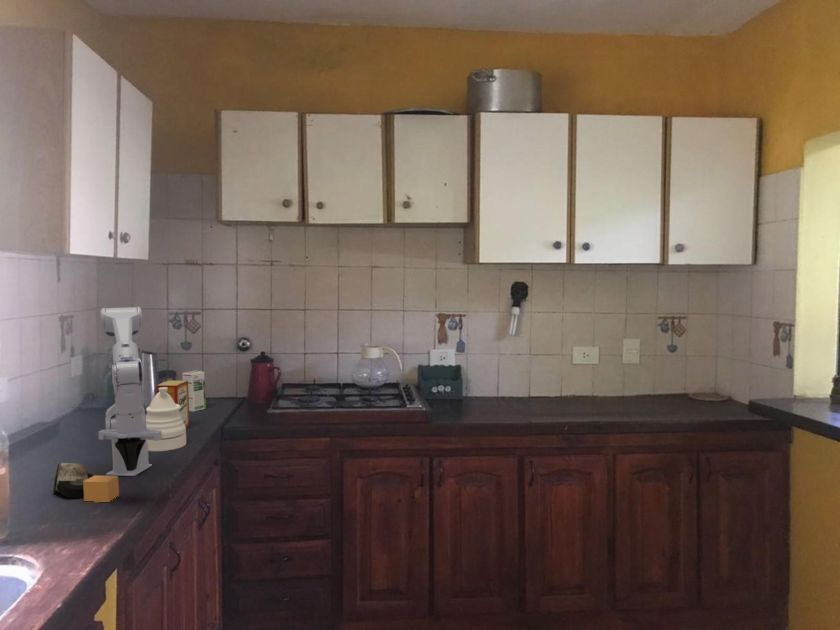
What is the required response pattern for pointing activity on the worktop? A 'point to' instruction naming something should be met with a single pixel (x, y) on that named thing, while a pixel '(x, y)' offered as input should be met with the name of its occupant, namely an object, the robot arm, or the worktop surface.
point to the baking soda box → (179, 396)
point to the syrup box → (196, 390)
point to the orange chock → (101, 488)
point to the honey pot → (165, 422)
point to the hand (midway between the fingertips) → (131, 469)
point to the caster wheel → (70, 479)
